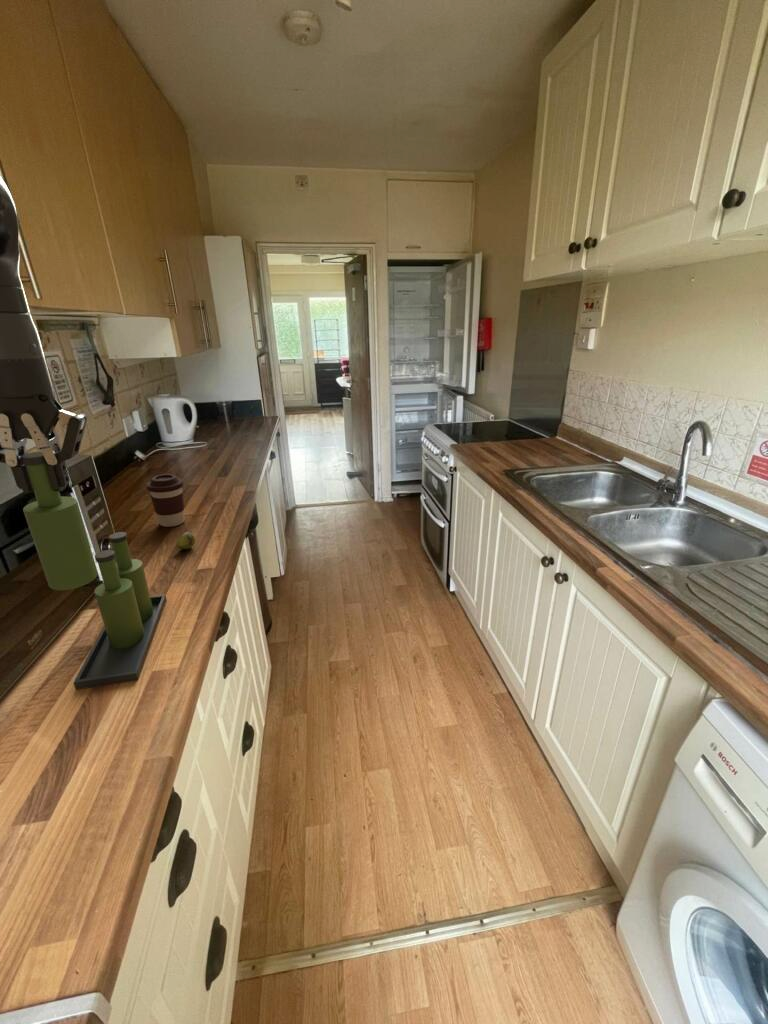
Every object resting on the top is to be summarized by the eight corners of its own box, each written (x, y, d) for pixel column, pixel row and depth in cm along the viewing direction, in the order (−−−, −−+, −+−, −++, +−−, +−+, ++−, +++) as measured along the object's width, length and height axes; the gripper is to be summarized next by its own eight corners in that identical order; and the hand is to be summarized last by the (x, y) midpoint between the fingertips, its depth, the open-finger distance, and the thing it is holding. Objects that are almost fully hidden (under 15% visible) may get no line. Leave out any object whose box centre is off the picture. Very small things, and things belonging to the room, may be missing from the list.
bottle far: (115, 618, 89) (92, 538, 82) (141, 603, 94) (121, 526, 87) (134, 627, 87) (112, 545, 79) (159, 611, 92) (141, 532, 84)
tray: (138, 682, 75) (136, 673, 74) (76, 692, 72) (73, 682, 71) (167, 602, 96) (165, 594, 95) (119, 608, 94) (117, 600, 93)
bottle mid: (102, 643, 83) (76, 557, 75) (131, 625, 88) (109, 543, 80) (123, 652, 80) (98, 565, 73) (151, 634, 85) (131, 550, 78)
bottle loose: (39, 583, 62) (-5, 456, 54) (82, 564, 67) (47, 446, 59) (64, 594, 59) (21, 464, 52) (106, 574, 64) (73, 452, 57)
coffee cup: (173, 531, 129) (164, 484, 123) (147, 526, 131) (137, 480, 125) (196, 518, 137) (189, 474, 131) (171, 514, 140) (163, 470, 134)
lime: (177, 553, 116) (173, 537, 114) (181, 545, 121) (178, 529, 119) (194, 552, 117) (191, 536, 115) (198, 544, 122) (195, 528, 120)
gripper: (83, 353, 56) (113, 478, 62) (-46, 351, 52) (0, 483, 59) (57, 357, 49) (94, 497, 56) (-92, 355, 46) (-34, 504, 53)
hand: (45, 489), depth 58 cm, fingers closed on bottle loose, 3 cm apart
